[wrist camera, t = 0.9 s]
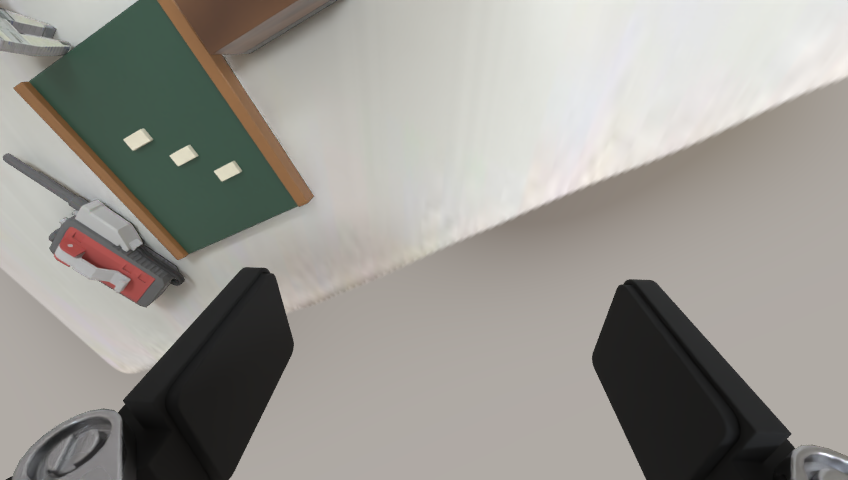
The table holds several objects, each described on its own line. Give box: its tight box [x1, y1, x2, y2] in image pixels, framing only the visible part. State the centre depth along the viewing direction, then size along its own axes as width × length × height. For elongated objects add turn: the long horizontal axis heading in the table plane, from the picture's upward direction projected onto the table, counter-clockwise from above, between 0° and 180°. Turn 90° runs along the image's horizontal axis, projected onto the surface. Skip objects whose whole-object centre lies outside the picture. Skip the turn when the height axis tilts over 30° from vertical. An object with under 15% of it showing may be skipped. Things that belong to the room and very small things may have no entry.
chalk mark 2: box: [170, 145, 199, 166], centre depth 32 cm, size 1×2×1 cm, turn 114°
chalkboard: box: [14, 0, 314, 260], centre depth 33 cm, size 20×18×2 cm
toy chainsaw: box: [3, 153, 185, 307], centre depth 37 cm, size 9×4×20 cm
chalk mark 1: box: [123, 128, 153, 151], centre depth 32 cm, size 1×2×1 cm, turn 114°
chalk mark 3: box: [214, 161, 242, 181], centre depth 33 cm, size 1×2×1 cm, turn 114°
